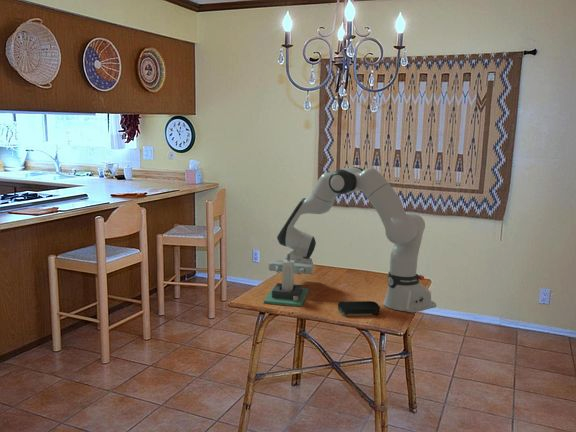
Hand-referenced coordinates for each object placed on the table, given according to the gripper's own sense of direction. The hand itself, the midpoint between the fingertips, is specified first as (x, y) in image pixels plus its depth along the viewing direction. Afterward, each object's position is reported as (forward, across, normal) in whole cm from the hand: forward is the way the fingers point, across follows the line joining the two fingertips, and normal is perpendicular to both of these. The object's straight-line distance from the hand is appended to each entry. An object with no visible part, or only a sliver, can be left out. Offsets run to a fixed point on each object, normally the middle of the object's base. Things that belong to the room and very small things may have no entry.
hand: (288, 271), depth 228 cm
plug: (+1, 0, +10) cm, 10 cm away
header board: (+1, 0, +11) cm, 11 cm away
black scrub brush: (+12, +32, +12) cm, 36 cm away
